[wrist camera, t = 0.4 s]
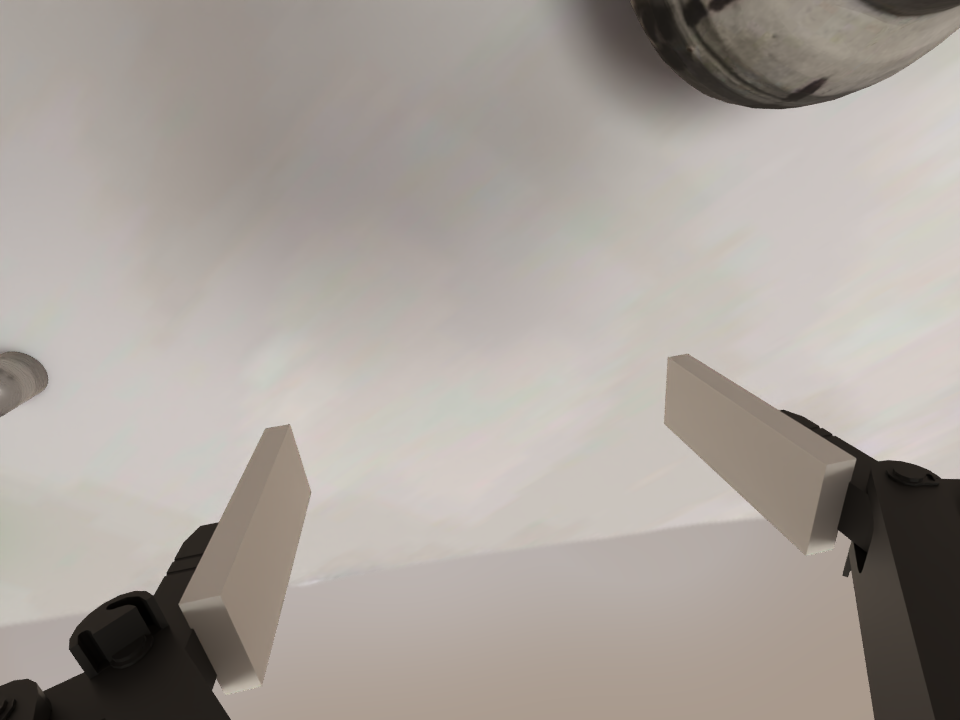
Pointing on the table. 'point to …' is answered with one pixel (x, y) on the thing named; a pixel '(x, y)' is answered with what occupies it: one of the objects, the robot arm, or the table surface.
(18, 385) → the metal cylinder
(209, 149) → the table surface
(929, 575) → the robot arm
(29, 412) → the table surface
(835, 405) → the table surface
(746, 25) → the ceramic pot
